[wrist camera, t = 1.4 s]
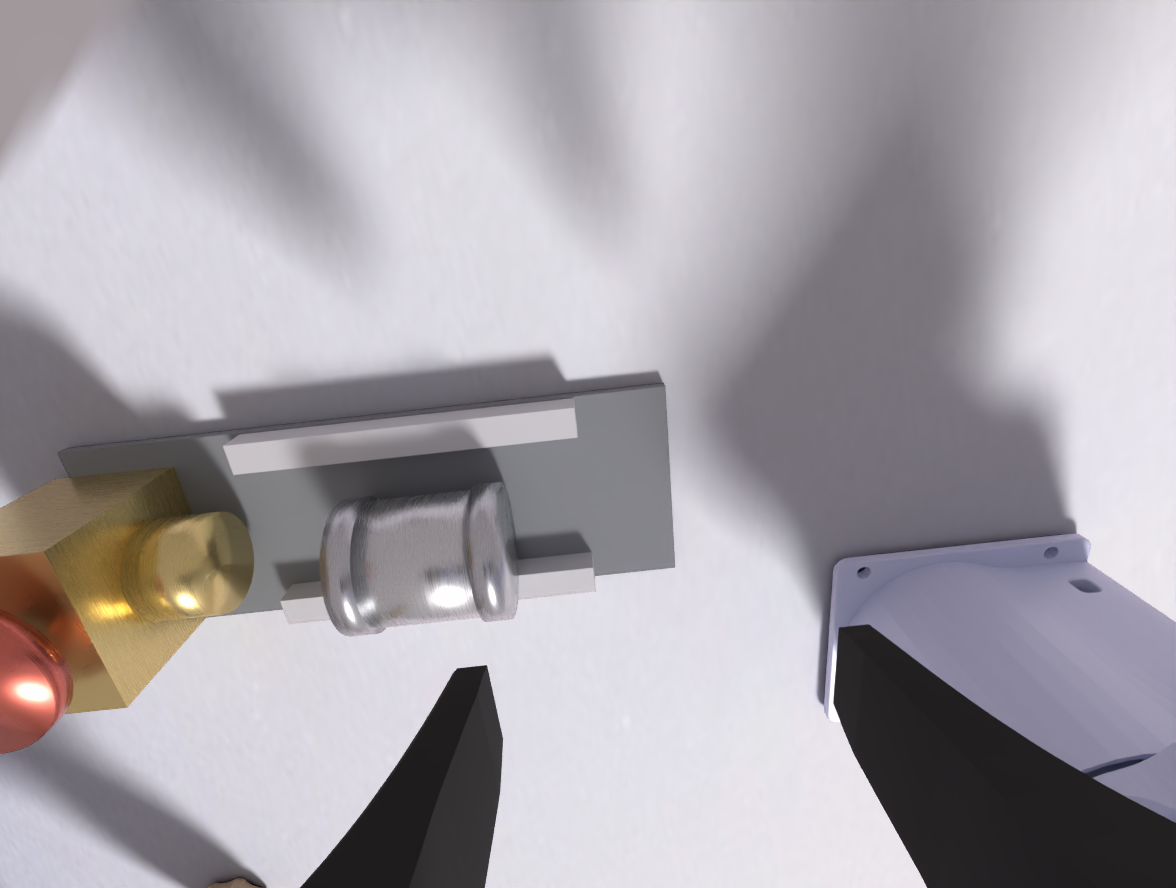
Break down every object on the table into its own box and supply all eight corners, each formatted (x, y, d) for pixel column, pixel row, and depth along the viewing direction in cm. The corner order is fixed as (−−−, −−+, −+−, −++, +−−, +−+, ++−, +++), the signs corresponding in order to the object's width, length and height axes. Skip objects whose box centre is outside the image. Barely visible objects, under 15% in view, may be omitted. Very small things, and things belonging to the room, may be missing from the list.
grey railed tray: (663, 383, 19) (670, 395, 18) (673, 561, 22) (680, 583, 21) (67, 448, 19) (31, 465, 18) (148, 617, 22) (122, 643, 21)
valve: (232, 459, 19) (72, 581, 13) (280, 588, 21) (159, 748, 15) (37, 481, 19) (-218, 612, 13) (102, 608, 21) (-92, 775, 15)
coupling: (498, 454, 19) (490, 559, 16) (520, 541, 22) (516, 646, 18) (345, 471, 19) (304, 579, 16) (386, 556, 22) (358, 663, 18)
